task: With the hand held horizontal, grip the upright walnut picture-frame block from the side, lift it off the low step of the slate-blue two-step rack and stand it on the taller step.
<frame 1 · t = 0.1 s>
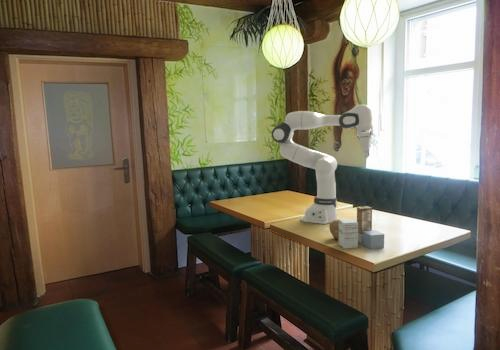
hand: (367, 156, 220), 39 cm above the table, tool pointing down, fingers open, 8 cm apart
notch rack: (368, 243, 189), on the table
frame block: (364, 232, 192), point 4 cm above the table, touching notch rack
supplement box: (348, 246, 185), on the table
natural sponge: (338, 239, 197), on the table
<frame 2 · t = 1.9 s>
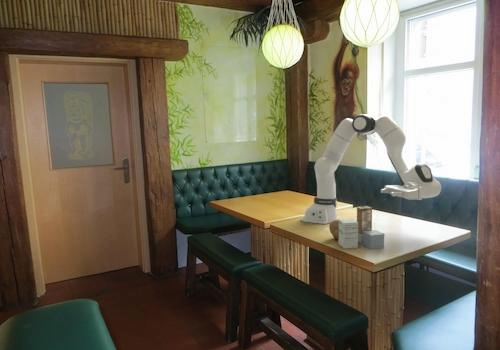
hand: (386, 192, 192), 24 cm above the table, tool horizontal, fingers open, 8 cm apart
nothing on the table moved.
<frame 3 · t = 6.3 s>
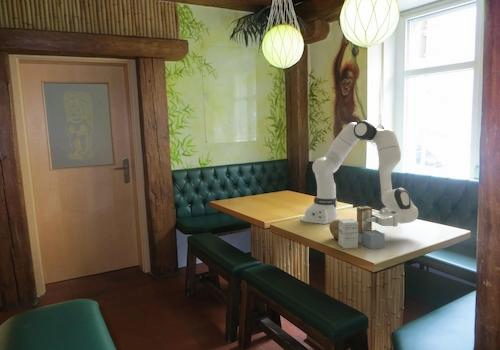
hand: (362, 218, 191), 12 cm above the table, tool horizontal, fingers closed on frame block, 4 cm apart
frame block: (364, 232, 192), point 4 cm above the table, touching gripper, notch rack
everything else where it was.
when the fingers open (15 cm above the table, at t = 9.9 s): frame block drops 1 cm, resting on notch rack.
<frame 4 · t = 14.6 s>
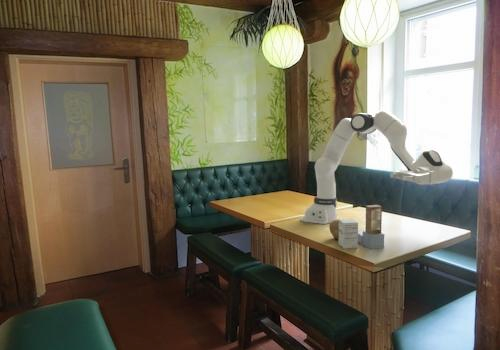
hand: (396, 177, 187), 32 cm above the table, tool horizontal, fingers open, 8 cm apart
frame block: (373, 232, 184), point 6 cm above the table, touching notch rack
everything else where it was.
at the end: frame block 0.1 cm from the target spot on the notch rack, point 6.5 cm above the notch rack's base; frame block tilted 0°; the gripper is holding nothing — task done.
